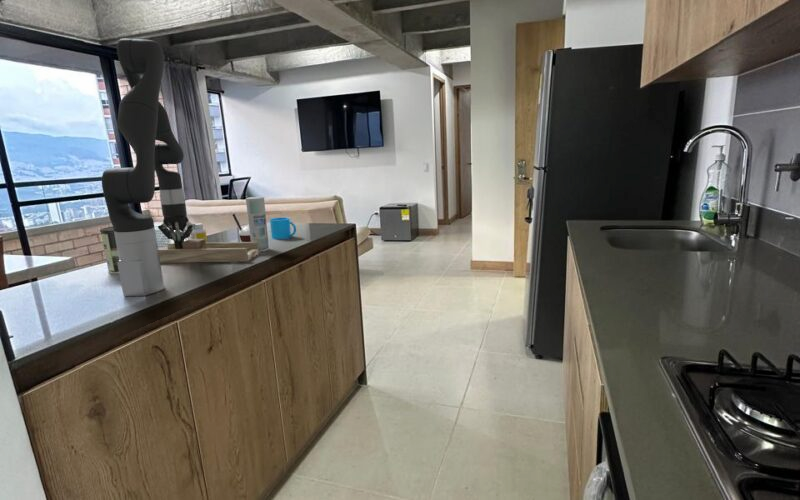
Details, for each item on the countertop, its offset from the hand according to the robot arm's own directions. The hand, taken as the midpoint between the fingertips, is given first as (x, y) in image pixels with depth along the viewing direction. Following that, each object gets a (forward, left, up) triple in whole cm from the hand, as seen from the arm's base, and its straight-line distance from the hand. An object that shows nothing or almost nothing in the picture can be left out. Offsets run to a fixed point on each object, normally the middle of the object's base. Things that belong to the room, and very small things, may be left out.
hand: (180, 250), depth 151 cm
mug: (+35, -26, -3) cm, 44 cm away
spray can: (+12, -24, -3) cm, 27 cm away
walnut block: (0, -5, -1) cm, 5 cm away
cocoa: (+26, -13, -3) cm, 30 cm away
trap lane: (0, -9, -3) cm, 10 cm away
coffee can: (-14, +11, -3) cm, 18 cm away
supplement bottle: (+16, +2, -3) cm, 16 cm away
